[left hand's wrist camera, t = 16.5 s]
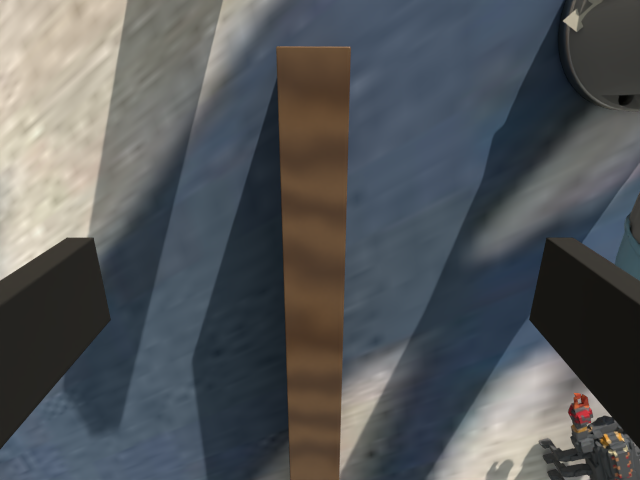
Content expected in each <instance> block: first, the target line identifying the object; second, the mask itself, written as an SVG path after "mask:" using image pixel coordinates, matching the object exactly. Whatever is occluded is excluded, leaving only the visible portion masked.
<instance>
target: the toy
mask: <svg viewBox="0 0 640 480" xmlns="http://www.w3.org/2000/svg"><path fill="white" fill-rule="evenodd" d="M574 394H575V397H574V403H572V404H571V406H570V408H569V411H568V413H569V415H570V417H571V419H572V422H573V425H572V426H571V429H572V436H571V441H572V444H573V445H574V447H575V448H574V449H569V450H565V451H562V450H561V449H560V448H556V447H555V446H554V444H553V443H552V441H551V440H550V439H548V438H547V439H544V440H540V441H539V443H540V445H541V446H542V447H543V448H545V449H546V448H549V447H550V449H551V451H552V452H553V453H551V454H548V455H544V456H543V458H544V460H545V461H546V463H547V464H549V463H554V464H555V466H556V467H557V469H558V470H559V472H560V473H559V472H558V471H557V470H552V471H549V472H548V475H549V477H550V478H551V480H564V478H563V477H574V476H575V477H577V476H581V475H588V476H589V475H590V478H591V480H640V460H639V459H640V449H639V448H638V447H637V446H634V442H633V441H632V440H631V438H630V437H629V436H628V435H627V434H626V432H625V431H624V430H623V429H622V428H621V427H620V425H619V424H618V423H617V422H616V421H615V420H614V418H613V417H608V416H603V417H599V418H597V420H596V421H595V422H593V423H591V418H593V414H592V410H591V409H590V407H589V403H588V397H586V396H585V395H583V394H582V396H581V394H579V393H574ZM580 397H581V402H582V403H578V400H577V399H580ZM588 423H591V424H590V425H588V426H587V424H588ZM579 459H585V460H586V464H577V465H571V466H567V467H566V466H565V465H564V464H563V463H562V464H560V462H559V461H562V462H567V461H575V460H579ZM562 476H563V477H562Z"/></svg>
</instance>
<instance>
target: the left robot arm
mask: <svg viewBox="0 0 640 480" xmlns="http://www.w3.org/2000/svg"><path fill="white" fill-rule="evenodd" d="M558 45H559V54H560V60H561V63H562V67H563V70H564V72H565V75H566V76H567V78H568V80H569V82H570V83H571V85H572V86H573V87H574V89H575V90H576V91H577V92H578V93H579V94H580V95H581V96H583V97H584V98H585V99H587V100H588V101H590V102H592V103H594V104H596V105H598V106H601V107H604V108H608V109H615V110H623V111H640V0H566V2H565V4H564V8H563V11H562V15H561V20H560V25H559V35H558ZM624 229H625V233H624V236H623V239H622V242H621V245H620V247H619V250H618V253H617V256H616V261H615V265H614V264H613V263H611V262H610V261H608V260H607V259H605V258H604V257H602V256H601V255H599V254H597V253H596V252H594V251H593V250H591V249H590V248H588V247H587V246H585V245H583V244H582V243H580V242H579V241H577V240H576V239H574V238H546V243H545V247H544V252H543V257H542V262H541V266H540V271H539V276H538V281H537V285H536V290H535V295H534V300H533V304H532V309H531V314H530V319H529V320H530V321H531V322H532V324H533V325H534V326H535V327H536V328H537V329H538V331H539V332H540V333H541V334H542V335H543V336H544V338H545V339H546V340H547V341H548V342H549V343H550V345H551V346H552V347H553V348H554V349H555V350H556V352H557V353H558V354H559V355H560V356H561V358H562V359H563V360H564V361H565V362H566V363H567V365H568V366H569V367H570V368H571V369H572V370H573V372H574V373H575V374H576V375H577V376H578V377H579V379H580V380H581V381H582V382H583V383H584V384H585V386H586V387H587V388H588V389H589V390H590V391H591V393H592V394H593V395H594V396H595V397H596V399H597V400H598V401H599V402H600V403H601V404H602V406H603V407H604V408H605V409H606V410H607V411H608V413H609V414H610V415H611V416H612V417H613V418H614V420H615V421H616V422H617V423H618V424H619V425H620V427H621V428H622V429H623V430H624V431H625V432H626V434H627V435H628V436H629V437H630V438H631V440H632V441H633V442H634V443H635V444H636V445H637V447H638V448H639V449H640V193H639V195H638V197H637V200H636V202H635V205H634V207H633V209H632V212H631V213H630V214H629V215H628V216H627V218H626V220H625V224H624ZM110 320H111V319H110V314H109V309H108V304H107V300H106V295H105V290H104V285H103V281H102V276H101V271H100V266H99V262H98V257H97V252H96V247H95V243H94V238H66V239H64V240H63V241H61V242H60V243H58V244H57V245H55V246H53V247H52V248H50V249H49V250H47V251H46V252H44V253H43V254H41V255H39V256H38V257H36V258H35V259H33V260H32V261H30V262H29V263H27V264H26V265H24V266H22V267H21V268H19V269H18V270H16V271H15V272H13V273H12V274H10V275H8V276H7V277H5V278H4V279H2V280H1V281H0V449H1V448H2V447H3V445H4V444H5V443H6V442H7V441H8V440H9V438H10V437H11V436H12V435H13V434H14V432H15V431H16V430H17V429H18V428H19V427H20V425H21V424H22V423H23V422H24V421H25V420H26V418H27V417H28V416H29V415H30V414H31V413H32V411H33V410H34V409H35V408H36V407H37V406H38V404H39V403H40V402H41V401H42V400H43V399H44V397H45V396H46V395H47V394H48V393H49V391H50V390H51V389H52V388H53V387H54V386H55V384H56V383H57V382H58V381H59V380H60V379H61V377H62V376H63V375H64V374H65V373H66V372H67V370H68V369H69V368H70V367H71V366H72V365H73V363H74V362H75V361H76V360H77V359H78V358H79V356H80V355H81V354H82V353H83V352H84V350H85V349H86V348H87V347H88V346H89V345H90V343H91V342H92V341H93V340H94V339H95V338H96V336H97V335H98V334H99V333H100V332H101V331H102V329H103V328H104V327H105V326H106V325H107V324H108V322H109V321H110Z"/></svg>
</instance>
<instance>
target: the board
mask: <svg viewBox="0 0 640 480" xmlns="http://www.w3.org/2000/svg"><path fill="white" fill-rule="evenodd" d="M276 54H277V85H278V116H279V147H280V178H281V209H282V240H283V271H284V302H285V333H286V364H287V395H288V426H289V457H290V480H339V465H340V427H341V390H342V353H343V315H344V278H345V241H346V203H347V166H348V129H349V91H350V54H351V48H350V47H276Z"/></svg>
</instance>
